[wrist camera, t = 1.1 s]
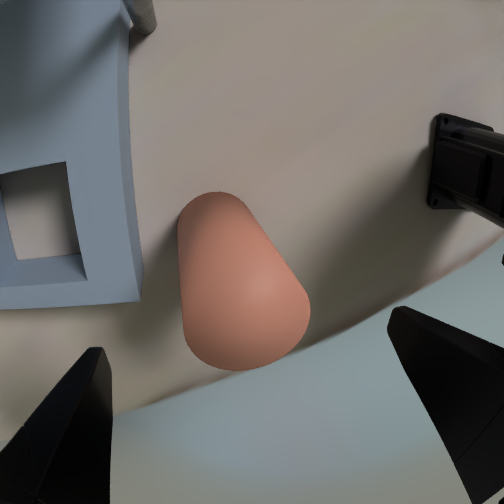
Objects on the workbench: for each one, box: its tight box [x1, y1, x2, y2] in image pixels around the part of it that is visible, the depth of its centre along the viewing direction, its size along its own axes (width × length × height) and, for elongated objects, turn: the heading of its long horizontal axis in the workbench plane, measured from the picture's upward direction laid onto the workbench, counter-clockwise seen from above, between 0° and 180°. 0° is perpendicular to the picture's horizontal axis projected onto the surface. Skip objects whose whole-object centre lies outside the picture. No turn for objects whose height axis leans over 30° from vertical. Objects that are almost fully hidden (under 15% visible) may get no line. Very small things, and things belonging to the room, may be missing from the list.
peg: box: [177, 192, 311, 371], centre depth 13 cm, size 4×4×8 cm
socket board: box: [0, 0, 144, 310], centre depth 10 cm, size 10×18×3 cm, turn 179°
